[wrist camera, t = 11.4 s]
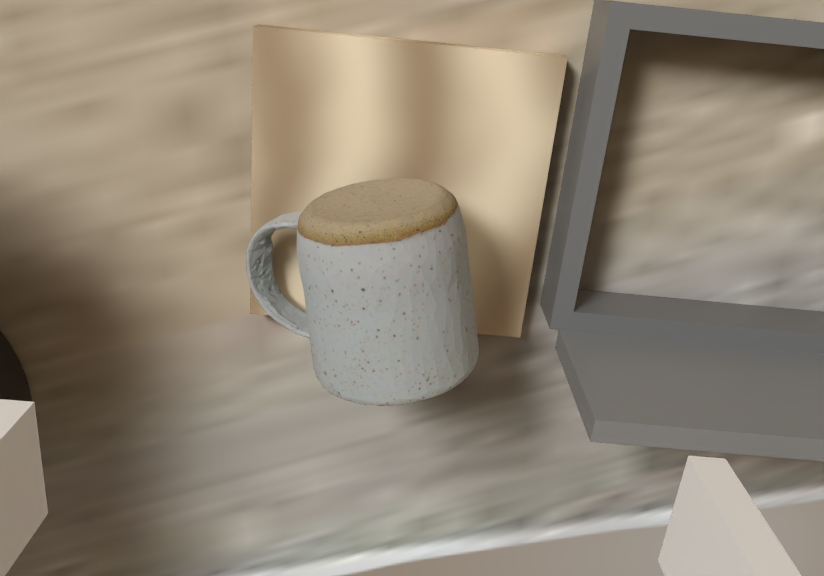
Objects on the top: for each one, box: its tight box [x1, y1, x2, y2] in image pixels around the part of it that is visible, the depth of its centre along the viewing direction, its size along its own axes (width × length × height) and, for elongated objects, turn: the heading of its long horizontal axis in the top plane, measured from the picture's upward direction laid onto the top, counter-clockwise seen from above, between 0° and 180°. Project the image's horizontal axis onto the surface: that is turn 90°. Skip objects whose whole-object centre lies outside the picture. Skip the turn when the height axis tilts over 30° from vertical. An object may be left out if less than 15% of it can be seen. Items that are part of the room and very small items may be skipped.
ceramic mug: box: [246, 178, 479, 406], centre depth 32 cm, size 11×8×8 cm
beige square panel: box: [250, 25, 568, 338], centre depth 36 cm, size 14×14×1 cm
